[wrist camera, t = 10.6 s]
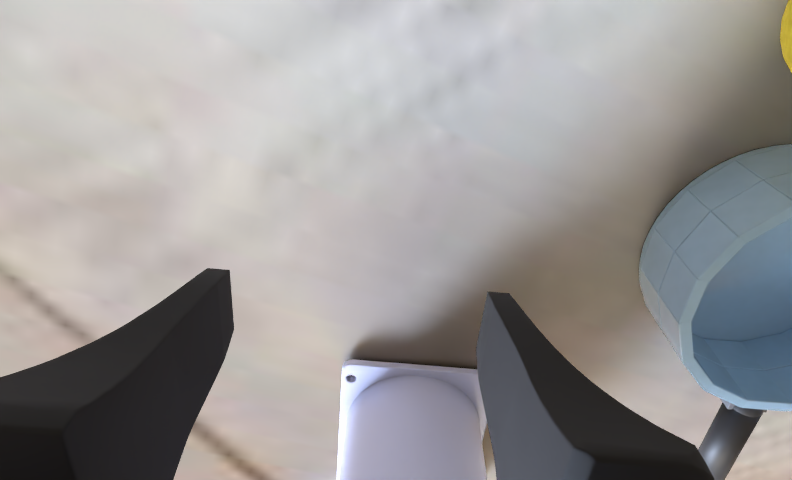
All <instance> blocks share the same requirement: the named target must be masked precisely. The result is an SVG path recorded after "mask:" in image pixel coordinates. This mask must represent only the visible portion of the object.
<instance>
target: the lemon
mask: <svg viewBox="0 0 792 480" xmlns="http://www.w3.org/2000/svg"><path fill="white" fill-rule="evenodd" d="M780 42H781V48H782V53H783V58H784V60H785V62H786V64H787V66H788V67H789V69H790V71H791V73H792V0H788V3H787V5H786V8H785V11H784V14H783V17H782V22H781V32H780Z"/></svg>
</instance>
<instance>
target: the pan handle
mask: <svg viewBox="0 0 792 480" xmlns="http://www.w3.org/2000/svg"><path fill="white" fill-rule="evenodd" d="M720 399H721V398H720ZM721 400H722V402H723V403H722V405H721V407H720V409H719V411H718V413H717V415H716V417H715V418H714V420H713V422H712V424H711V426H710V428H709V430H708V432H707V434H706V436H705V438H704V440H703V442H702V443H701V445H700V447H699V449H698V451H699V452H700V454H701V456H702V457H703V459H704V460H705V462H706V464H707V466H708V468H709V469H710V471H711V473H712V475H713V477H714V479H715V480H725V478H726V476H727V474H728V473H729V471H730V469H731V467H732V466H733V464H734V462H735V460H736V459H737V457H738V455H739V454H740V452H741V450H742V448H743V447H744V445H745V443H746V441H747V440H748V438H749V436H750V434H751V433H752V431H753V429H754V428H755V426H756V424H757V422H758V421H759V419H760V417H761V415H762V413H763V412H766V411H767V410H762V409H749V408H742V407H738V406H736V405H734V404H732V403H730V402H728V401H725V400H723V399H721Z"/></svg>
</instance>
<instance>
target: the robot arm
mask: <svg viewBox="0 0 792 480" xmlns="http://www.w3.org/2000/svg"><path fill="white" fill-rule="evenodd" d="M233 330H234V322H233V309H232V296H231V283H230V270H222V269H210V268H207V269H206V270H204V271H203V272H201V273H200V274H199V275H197V276H196V277H195V278H193V279H192V280H190V281H189V282H188V283H186V284H185V285H184V286H182V287H181V288H180V289H178V290H177V291H175V292H174V293H173V294H171V295H170V296H168V297H167V298H166V299H164V300H163V301H161V302H160V303H159V304H157V305H156V306H154V307H152V308H151V309H149V310H148V311H146V312H145V313H143V314H142V315H140V316H138V317H137V318H135V319H134V320H132V321H131V322H129V323H127V324H126V325H124V326H122V327H120V328H119V329H117V330H115V331H113V332H111V333H109V334H108V335H106V336H104V337H102V338H100V339H98V340H96V341H94V342H92V343H90V344H88V345H85V346H83V347H81V348H78V349H76V350H74V351H72V352H69V353H67V354H65V355H62V356H60V357H58V358H55V359H53V360H50V361H48V362H45V363H42V364H40V365H37V366H34V367H31V368H28V369H25V370H22V371H19V372H16V373H13V374H10V375H7V376H4V377H0V480H173V479H174V476H175V473H176V470H177V467H178V464H179V461H180V458H181V455H182V453H183V450H184V447H185V444H186V441H187V439H188V436H189V434H190V432H191V429H192V427H193V425H194V422H195V420H196V418H197V416H198V414H199V412H200V410H201V408H202V406H203V404H204V402H205V400H206V397H207V395H208V393H209V391H210V389H211V387H212V385H213V383H214V381H215V379H216V377H217V374H218V372H219V370H220V368H221V366H222V364H223V361H224V359H225V356H226V353H227V350H228V347H229V344H230V340H231V337H232V334H233ZM476 355H477V369H467V368H454V367H442V366H429V365H417V364H404V363H392V362H379V361H367V360H354V359H351V360H347V361H345V362H344V363H343V367H342V380H341V401H340V421H339V442H338V462H337V480H487V474H486V467H485V460H484V453H483V446H482V441H483V437H484V433H485V428H486V424H488V429H489V434H490V438H491V443H492V448H493V454H494V460H495V467H496V477H497V480H715V479H714V477H713V475H712V473H711V471H710V469H709V468H708V466H707V464H706V462H705V460H704V459H703V457H702V456H701V454H700V452H699V451H698V449H697V448H696V446H695V445H693V444H691V443H689V442H687V441H685V440H683V439H681V438H679V437H677V436H675V435H673V434H671V433H669V432H668V431H666V430H664V429H662V428H660V427H658V426H656V425H654V424H653V423H651V422H649V421H648V420H646V419H644V418H643V417H641V416H639V415H638V414H636V413H635V412H633V411H631V410H630V409H628V408H627V407H625V406H624V405H622V404H621V403H619V402H618V401H617V400H615V399H614V398H612V397H611V396H610V395H608V394H607V393H605V392H604V391H603V390H601V389H600V388H599V387H598V386H596V385H595V384H594V383H592V382H591V381H590V380H589V379H588V378H587V377H585V376H584V375H583V374H582V373H581V372H580V371H578V370H577V369H576V368H575V367H574V366H573V365H572V364H571V363H570V362H569V361H568V360H567V359H566V358H565V357H564V356H563V355H562V354H561V353H560V352H559V351H558V350H557V349H556V348H555V347H554V346H553V345H552V344H551V343H550V342H549V341H548V340H547V339H546V338H545V336H544V335H543V334H542V333H541V332H540V331H539V330H538V328H537V327H536V326H535V325H534V324H533V322H532V321H531V320H530V319H529V317H528V316H527V315H526V314H525V313H524V311H523V310H522V309H521V307H520V306H519V305H518V304H517V302H516V301H515V300H514V299H513V297H512V296H511V295H510V294H509V293H498V292H487V297H486V302H485V307H484V312H483V317H482V322H481V327H480V332H479V337H478V341H477V346H476ZM348 375H354V376H355V377H350V376H348Z"/></svg>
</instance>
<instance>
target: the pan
mask: <svg viewBox="0 0 792 480" xmlns="http://www.w3.org/2000/svg"><path fill="white" fill-rule="evenodd" d="M639 282H640V287H641V292H642V295H643V297H644V302H645V305H646V306H647V308H648V310H649V311H650V313H651V314H652V316H653V318H654V319H655V321H656V322H657V324H658V325H659V327H660V329H661V330H662V331H663V333H664V335H665V336H666V338H667V340H668V341H669V343H670V344H671V346H672V347H673V349H674V351H675V352H676V354H677V355H678V357H679V358H680V360H681V362H682V363H683V364H684V366H685V367H686V368H687V370H688V371H689V372H690V373H691V375H692V376H693V377H694V379H695V380H696V381H697V383H698V384H699V385H700V386H701V388H702V389H703V390H704V391H706V392H708V393H710V394H712V395H714V396H717V397H719V398H721V399H723V400H725V401H728V402H730V403H732V404H734V405H736V406H738V407H742V408H749V409H762V410H775V411H792V144H787V145H777V146H770V147H766V148H761V149H756V150H753V151H750V152H747V153H744V154H741V155H738V156H736V157H733V158H731V159H729V160H727V161H724V162H722V163H720V164H718V165H717V166H715V167H713V168H711V169H710V170H708V171H706V172H705V173H703V174H702V175H700V176H699V177H697V178H696V179H695V180H693V181H692V182H691V183H689V184H688V185H687V186H686V187H685V188H684V189H682V190H681V191H680V192H679V193H678V194H677V195H676V196H675V197H674V198H673V199H672V200H671V201H670V202H669V203H668V204H667V206H666V207H665V208H664V210H663V211H662V212H661V213H660V215H659V216H658V217H657V219H656V221H655V222H654V224H653V226H652V228H651V229H650V231H649V233H648V236H647V238H646V240H645V243H644V246H643V249H642V253H641V256H640V264H639Z"/></svg>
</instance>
